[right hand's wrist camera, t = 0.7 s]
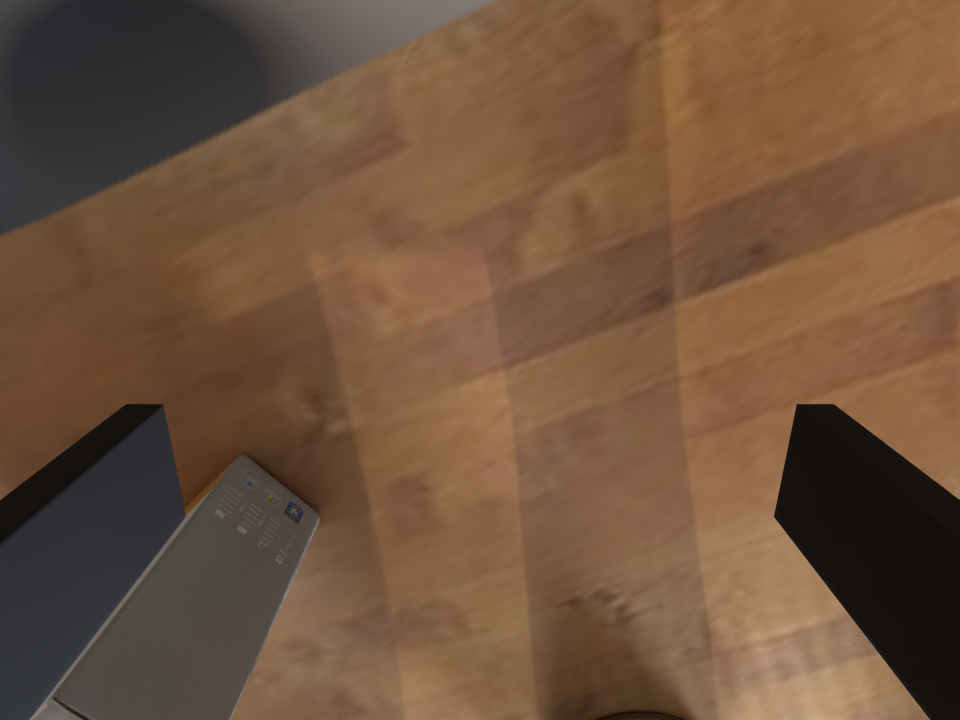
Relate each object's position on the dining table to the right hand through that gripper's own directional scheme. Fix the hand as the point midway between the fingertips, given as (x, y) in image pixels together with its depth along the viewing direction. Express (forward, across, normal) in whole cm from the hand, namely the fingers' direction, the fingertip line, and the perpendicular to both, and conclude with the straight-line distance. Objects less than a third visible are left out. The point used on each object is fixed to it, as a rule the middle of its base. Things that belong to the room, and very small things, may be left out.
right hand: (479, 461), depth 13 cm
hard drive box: (+26, +20, +22) cm, 40 cm away
